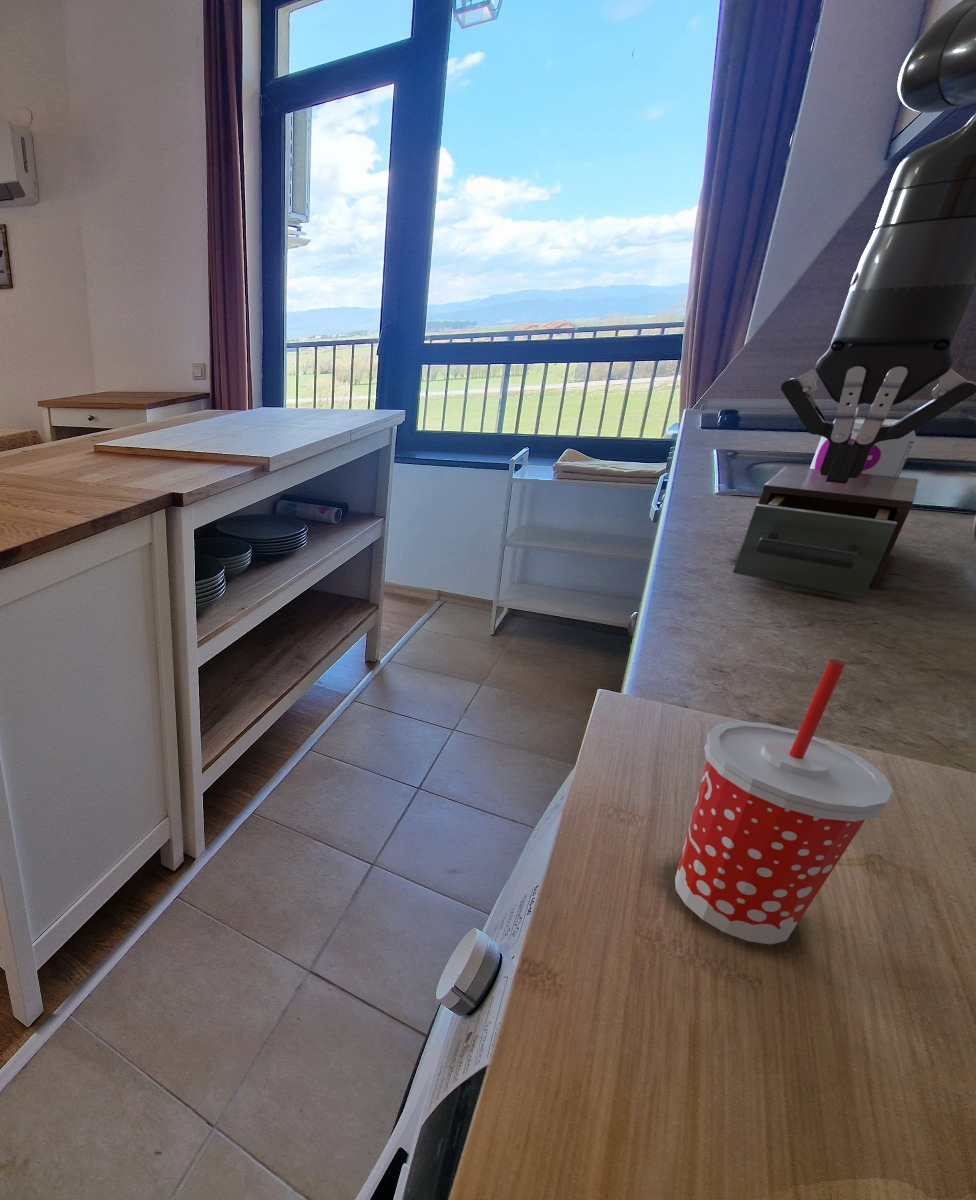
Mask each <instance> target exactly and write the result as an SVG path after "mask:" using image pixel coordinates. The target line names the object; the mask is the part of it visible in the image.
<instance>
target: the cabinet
mask: <svg viewBox="0 0 976 1200" xmlns="http://www.w3.org/2000/svg"><path fill="white" fill-rule="evenodd" d="M826 479H827V476H826V475H821V473H820V470H818V469H810V468H809V467H808V468H806V467H797V466H787V465H786V466H784V467H783V468H781V470H779V472H778V473H776V474H775V475H774V476H773V477H772V478H770V480H769V481H767V482H766V483H764V485H763V487H762V491H761V494H760V496H759V500H758V502H757V504H764V505H768V504H769V503H770V502H771V501H772V500H773V499H774V498H775V497H776V496H777V495H778V494H786V495H794V496H803V497H811V498H820V499H828V500H836V501H845V502H853V503H862V504H870V505H878V506H887V507H891V510H890V513H889V516H888V519H887V520H888V521H895V522H897V525H896V527H895V529H894V532H893V534H892V536H891V538H890V541H889V543H888V545H887V548H886V550H885V552H884V554H883V557H882V559H881V561H880V563H879V566H878V568H877V570H876V572H875V575H874V577H873V579H872V581H871V584H870V586H869V588H872V589H876V587H877V585H878V582H879V580H880V578H881V576H882V574H883V571H884V569H885V567H886V564H887V562H888V560H889V558H890V555H891V553H892V551H893V548H894V546H895V544H896V543H897V539H898V537H899V535H900V533H901V531H902V529H903V526H904V524H905V522H906V519H907V517H908V515H909V514H910V510H911V508H912V506H913V504H914V501H915V496H916V493H917V487H918V484H919V483H918V482H919V479H918V478H911V477H903V476H901V477H900V476H899V477H892V476H881V475H871V474H860V475H859V476H858V477H857V478H849V480H848V482H847V483H846V484H844V483H834V482H826ZM836 482H837V481H836Z"/></svg>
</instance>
